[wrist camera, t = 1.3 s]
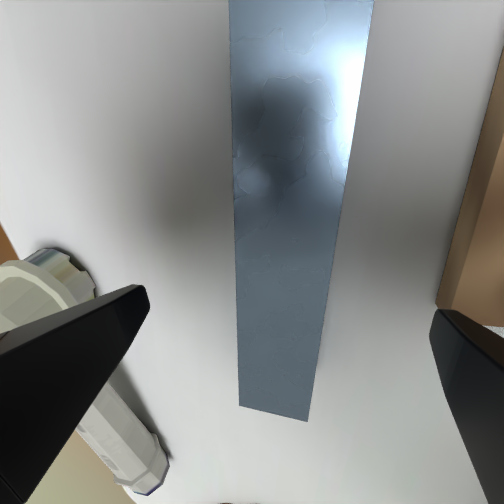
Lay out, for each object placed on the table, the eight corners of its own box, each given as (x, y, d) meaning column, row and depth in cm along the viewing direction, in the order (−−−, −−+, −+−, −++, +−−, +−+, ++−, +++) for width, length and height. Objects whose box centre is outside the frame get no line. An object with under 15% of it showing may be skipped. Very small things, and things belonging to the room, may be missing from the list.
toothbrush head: (117, 493, 26) (-105, 314, 14) (152, 422, 32) (16, 246, 19) (162, 504, 25) (-41, 315, 12) (190, 427, 30) (71, 241, 18)
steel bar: (310, 365, 18) (307, 421, 15) (254, 354, 19) (239, 405, 16) (366, -28, 10) (392, -116, 6) (259, -16, 10) (226, -87, 7)
